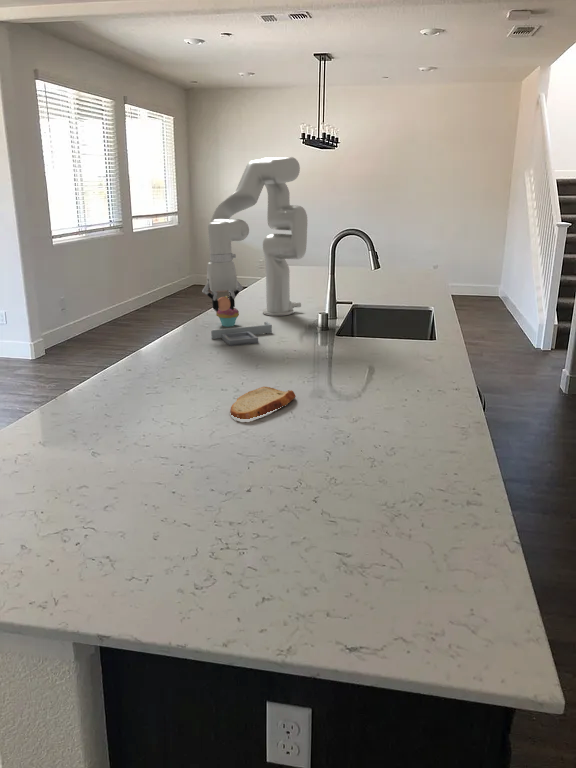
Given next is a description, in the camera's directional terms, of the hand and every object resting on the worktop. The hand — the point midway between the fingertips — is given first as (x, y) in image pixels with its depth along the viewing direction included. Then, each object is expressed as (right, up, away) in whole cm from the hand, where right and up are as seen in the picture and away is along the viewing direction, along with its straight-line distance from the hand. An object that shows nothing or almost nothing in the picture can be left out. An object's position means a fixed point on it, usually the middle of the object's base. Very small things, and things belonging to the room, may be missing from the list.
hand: (223, 309), depth 227 cm
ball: (0, 0, 0) cm, 1 cm away
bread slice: (+17, -33, -71) cm, 79 cm away
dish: (+6, -12, -9) cm, 16 cm away
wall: (+6, -9, +1) cm, 10 cm away
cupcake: (0, -4, +15) cm, 15 cm away
